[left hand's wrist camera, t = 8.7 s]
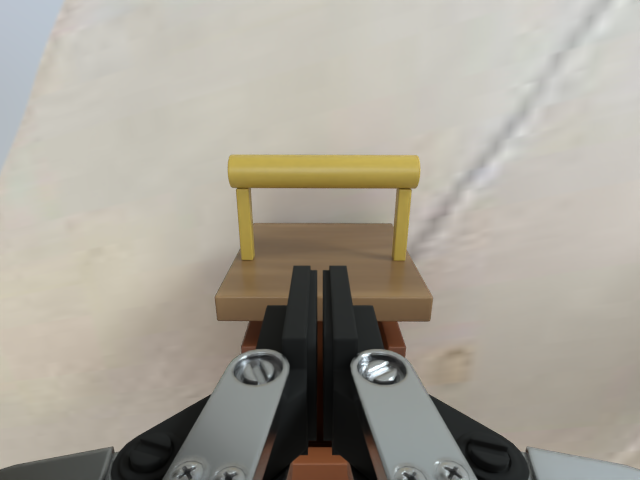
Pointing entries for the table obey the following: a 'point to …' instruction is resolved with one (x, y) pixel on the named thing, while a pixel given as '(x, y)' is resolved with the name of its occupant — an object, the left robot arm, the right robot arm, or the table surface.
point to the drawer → (324, 248)
